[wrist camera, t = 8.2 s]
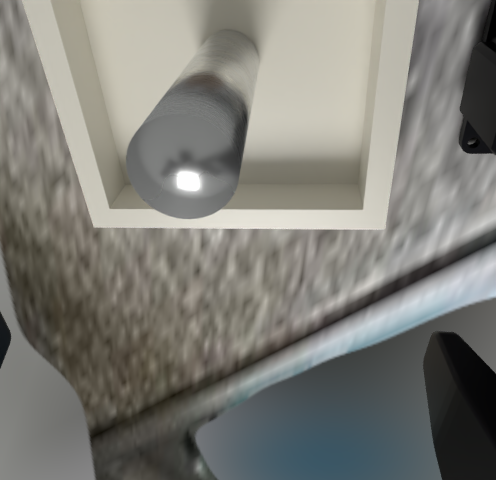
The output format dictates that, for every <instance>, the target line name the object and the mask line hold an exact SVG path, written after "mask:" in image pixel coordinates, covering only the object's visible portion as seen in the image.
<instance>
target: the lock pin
mask: <svg viewBox="0 0 496 480" xmlns="http://www.w3.org/2000/svg"><path fill="white" fill-rule="evenodd" d="M258 71H259V55H258V52H257V49H256V47H255V45H254V44H253V42H252V41H251V40H250V39H249V38H248V37H247V36H246V35H244V34H243V33H240V32H238V31H235V30H221V31H218V32H216V33H214V34H212V35H211V36H210V37H209V38H208V39H207V40H206V41H205V42H204V43H203V45H202V46H201V47H200V49H199V50H198V51H197V53H196V54H195V55H194V57H193V58H192V59H191V60H190V62H189V63H188V64H187V66H186V67H185V68H184V70H183V71H182V72H181V74H180V75H179V76H178V78H177V79H176V80H175V82H174V83H173V84H172V85H171V87H170V88H169V89H168V91H167V92H166V93H165V95H164V96H163V97H162V99H161V100H160V101H159V103H158V104H157V105H156V107H155V108H154V109H153V110H152V112H151V113H150V114H149V116H148V117H147V118H146V120H145V121H144V122H143V124H142V125H141V126H140V128H139V129H138V130H137V131H136V133H135V134H134V136H133V137H132V139H131V141H130V143H129V146H128V149H127V154H126V168H127V173H128V177H129V180H130V182H131V184H132V186H133V188H134V189H135V191H136V192H137V194H138V195H139V196H140V197H141V198H142V199H143V200H144V201H145V202H146V203H147V204H148V205H149V206H151V207H152V208H154V209H155V210H157V211H159V212H161V213H163V214H165V215H168V216H171V217H175V218H180V219H198V218H203V217H206V216H209V215H212V214H214V213H216V212H217V211H219V210H220V209H222V208H223V207H224V206H225V205H226V204H227V203H228V202H229V201H230V200H231V198H232V196H233V195H234V193H235V191H236V189H237V185H238V181H239V176H240V170H241V165H242V159H243V154H244V148H245V143H246V137H247V131H248V126H249V120H250V115H251V109H252V104H253V98H254V93H255V87H256V82H257V76H258Z"/></svg>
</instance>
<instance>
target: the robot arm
mask: <svg viewBox="0 0 496 480" xmlns="http://www.w3.org/2000/svg"><path fill="white" fill-rule="evenodd" d="M460 111H461V113H462V114H463V115H464V120H463V124H462V128H461V133H460V137H459V144H460V146H461V148H462V149H463V151H465V152H466V153H470V154H487V153H494V155H496V0H491V5H490V9H489V13H488V18H487V22H486V26H485V30H484V35H483V39H482V42H479V43H478V44H477V45H476V46H475V47H474V48H473V51H472V56H471V60H470V65H469V69H468V73H467V78H466V82H465V87H464V91H463V96H462V100H461V105H460ZM474 137H476V138H477V140H476V142H475V143H473V144H470V145H469V144H467V143H468V141H469V140H470V139H471V138H474ZM10 341H11V333H10V330H9V328H8V326H7V324H6V322H5V320H4V318H3V316H2V314H1V312H0V368H1V365H2V363H3V360H4V358H5V355H6V353H7V350H8V347H9V345H10ZM423 369H424V377H425V385H426V392H427V400H428V408H429V415H430V422H431V430H432V437H433V443H434V448H435V452H436V457H437V461H438V465H439V469H440V473H441V477H442V480H496V374H495V372H494V371H493V370H492V369H491V368H490V367H489V366H488V365H487V364H486V363H485V362H484V361H483V360H482V359H481V358H480V357H479V356H478V355H477V354H476V353H475V352H474V351H473V350H472V348H471V347H470V346H469V345H468V344H467V343H466V342H464V340H463V339H462V338H461V337H460V336H459V335H457V334H456V333H454V332H445V331H435V332H433V333H432V335H431V337H430V341H429V344H428V347H427V350H426V353H425V356H424V361H423Z"/></svg>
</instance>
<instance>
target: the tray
mask: <svg viewBox="0 0 496 480" xmlns="http://www.w3.org/2000/svg"><path fill="white" fill-rule="evenodd" d="M22 2H23V5H24V8H25V11H26V14H27V17H28V21H29V24H30V27H31V30H32V33H33V36H34V40H35V43H36V46H37V49H38V52H39V55H40V58H41V62H42V65H43V68H44V71H45V74H46V77H47V81H48V84H49V87H50V90H51V93H52V96H53V99H54V103H55V106H56V109H57V112H58V115H59V118H60V122H61V125H62V128H63V131H64V134H65V137H66V141H67V144H68V147H69V150H70V153H71V156H72V159H73V163H74V166H75V169H76V172H77V175H78V178H79V182H80V185H81V188H82V191H83V194H84V197H85V200H86V204H87V207H88V210H89V213H90V216H91V219H92V223H93V226H94V227H104V228H228V229H353V230H385V225H386V218H387V212H388V205H389V198H390V192H391V185H392V178H393V172H394V165H395V158H396V151H397V145H398V138H399V131H400V125H401V118H402V111H403V104H404V98H405V91H406V84H407V78H408V71H409V64H410V58H411V51H412V44H413V37H414V31H415V24H416V17H417V11H418V4H419V0H22ZM221 30H235V31H238V32H240V33H243V34H244V35H246V36H247V37H248V38H249V39H250V40H251V41H252V42H253V44H254V45H255V47H256V49H257V52H258V55H259V71H258V76H257V82H256V87H255V93H254V98H253V104H252V109H251V115H250V120H249V126H248V131H247V137H246V143H245V148H244V154H243V159H242V165H241V170H240V176H239V181H238V185H237V189H236V191H235V193H234V195H233V196H232V198H231V200H230V201H229V202H228V203H227V204H226V205H225V206H224V207H223V208H222V209H220V210H219V211H217V212H216V213H214V214H212V215H209V216H206V217H203V218H198V219H180V218H175V217H171V216H168V215H165V214H163V213H161V212H159V211H157V210H155V209H154V208H152V207H151V206H149V205H148V204H147V203H146V202H145V201H144V200H143V199H142V198H141V197H140V196H139V195H138V194H137V192H136V191H135V189H134V188H133V186H132V184H131V182H130V180H129V177H128V173H127V168H126V154H127V149H128V146H129V143H130V141H131V139H132V137H133V136H134V134H135V133H136V131H137V130H138V129H139V128H140V126H141V125H142V124H143V122H144V121H145V120H146V118H147V117H148V116H149V114H150V113H151V112H152V110H153V109H154V108H155V107H156V105H157V104H158V103H159V101H160V100H161V99H162V97H163V96H164V95H165V93H166V92H167V91H168V89H169V88H170V87H171V85H172V84H173V83H174V82H175V80H176V79H177V78H178V76H179V75H180V74H181V72H182V71H183V70H184V68H185V67H186V66H187V64H188V63H189V62H190V60H191V59H192V58H193V57H194V55H195V54H196V53H197V51H198V50H199V49H200V47H201V46H202V45H203V43H204V42H205V41H206V40H207V39H208V38H209V37H210V36H211V35H212V34H214V33H216V32H218V31H221Z"/></svg>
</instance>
